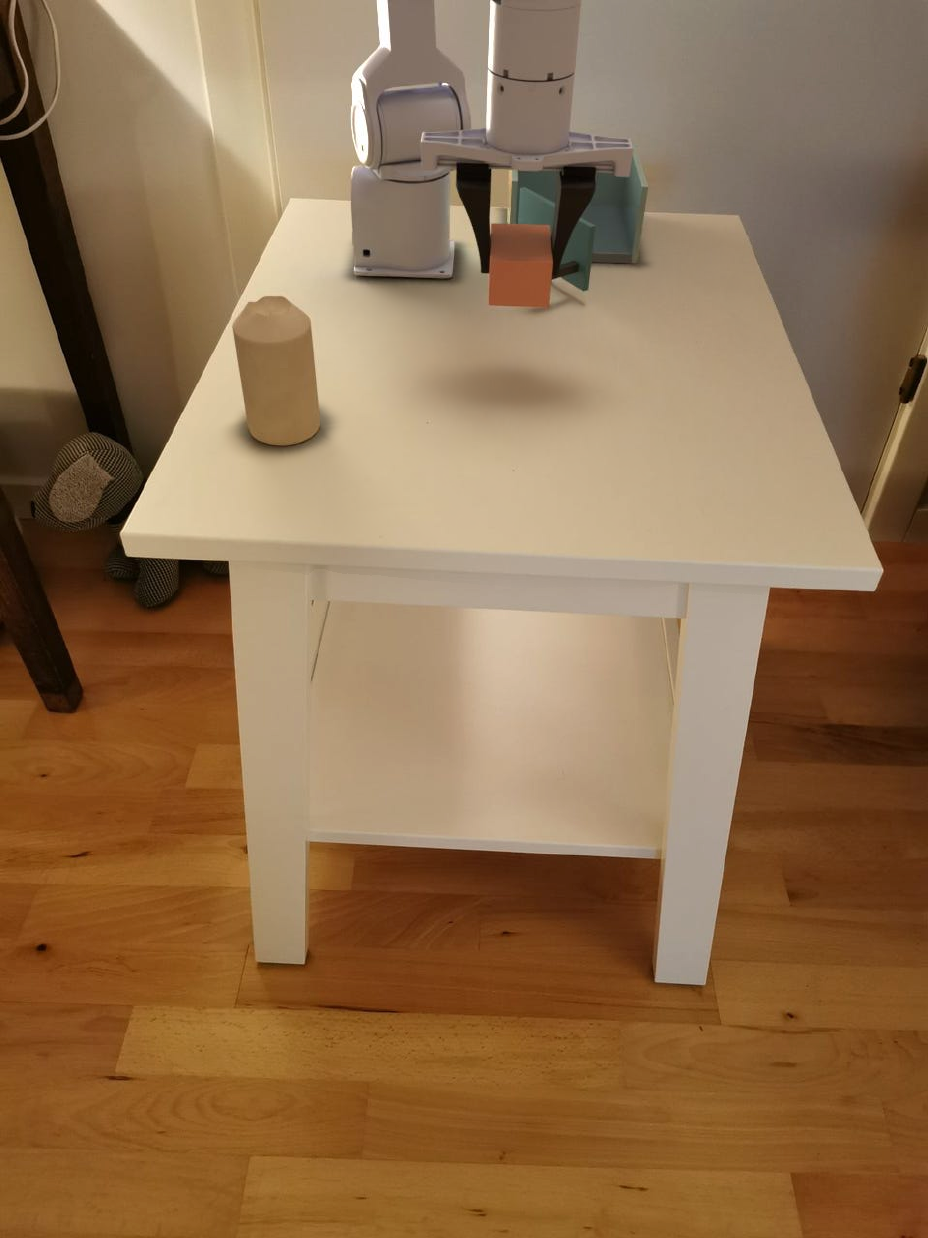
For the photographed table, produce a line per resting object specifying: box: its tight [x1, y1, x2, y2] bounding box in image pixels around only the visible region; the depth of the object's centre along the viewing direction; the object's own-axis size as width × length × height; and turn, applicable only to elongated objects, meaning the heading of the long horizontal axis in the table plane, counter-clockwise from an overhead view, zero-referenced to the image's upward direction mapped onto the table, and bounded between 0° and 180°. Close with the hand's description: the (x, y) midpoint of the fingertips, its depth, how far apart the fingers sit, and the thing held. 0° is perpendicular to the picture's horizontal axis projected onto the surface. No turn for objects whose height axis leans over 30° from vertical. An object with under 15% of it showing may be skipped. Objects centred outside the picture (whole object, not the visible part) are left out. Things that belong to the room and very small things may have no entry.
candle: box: [231, 295, 321, 446], centre depth 71 cm, size 6×6×10 cm
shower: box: [506, 139, 649, 265], centre depth 99 cm, size 13×13×8 cm
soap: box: [487, 222, 553, 308], centre depth 73 cm, size 4×6×4 cm
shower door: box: [518, 187, 596, 292], centre depth 89 cm, size 10×6×6 cm, turn 34°
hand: (518, 268), depth 73 cm, fingers closed on soap, 4 cm apart
